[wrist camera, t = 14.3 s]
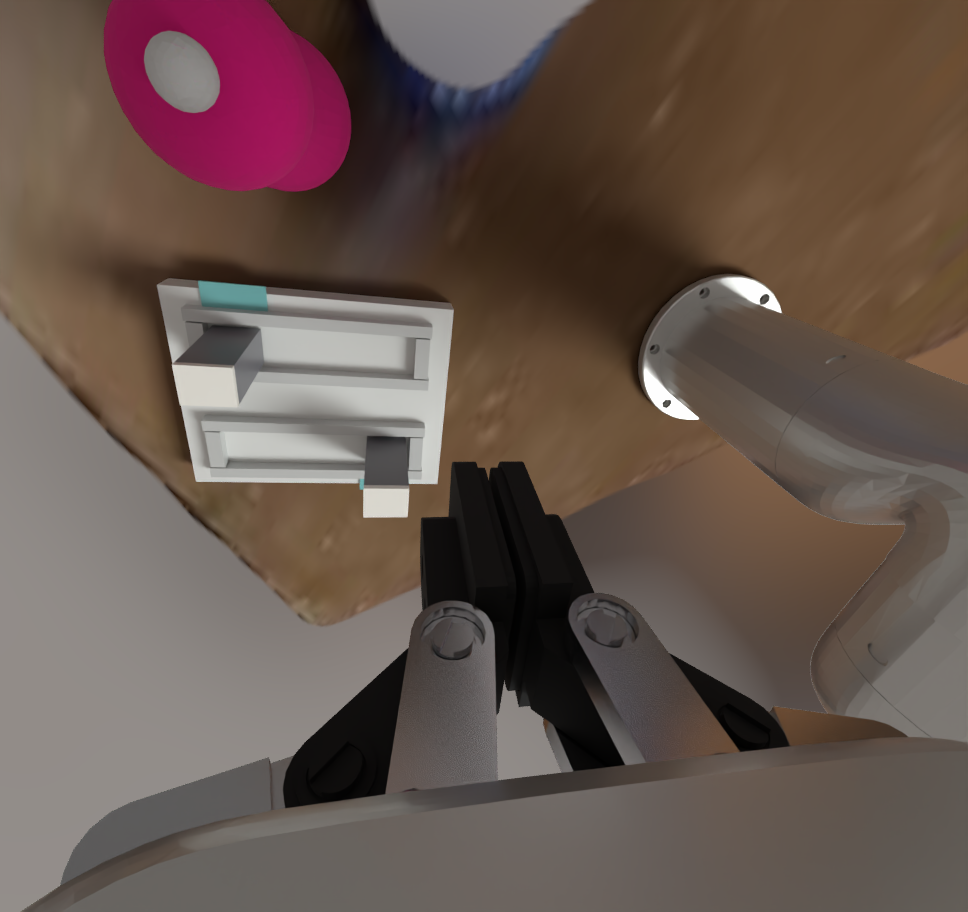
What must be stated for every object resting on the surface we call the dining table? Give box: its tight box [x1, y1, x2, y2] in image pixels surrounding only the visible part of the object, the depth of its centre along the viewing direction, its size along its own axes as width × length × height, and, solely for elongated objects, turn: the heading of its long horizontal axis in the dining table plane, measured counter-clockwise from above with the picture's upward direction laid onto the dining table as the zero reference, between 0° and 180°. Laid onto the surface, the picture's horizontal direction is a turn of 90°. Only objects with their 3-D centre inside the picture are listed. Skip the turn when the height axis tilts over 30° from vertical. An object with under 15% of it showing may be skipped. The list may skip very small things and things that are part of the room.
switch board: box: [157, 278, 454, 490], centre depth 37 cm, size 19×16×3 cm
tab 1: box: [172, 325, 264, 407], centre depth 30 cm, size 3×2×7 cm
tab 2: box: [363, 436, 409, 517], centre depth 37 cm, size 3×2×7 cm
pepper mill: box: [104, 0, 351, 192], centre depth 21 cm, size 7×7×20 cm
